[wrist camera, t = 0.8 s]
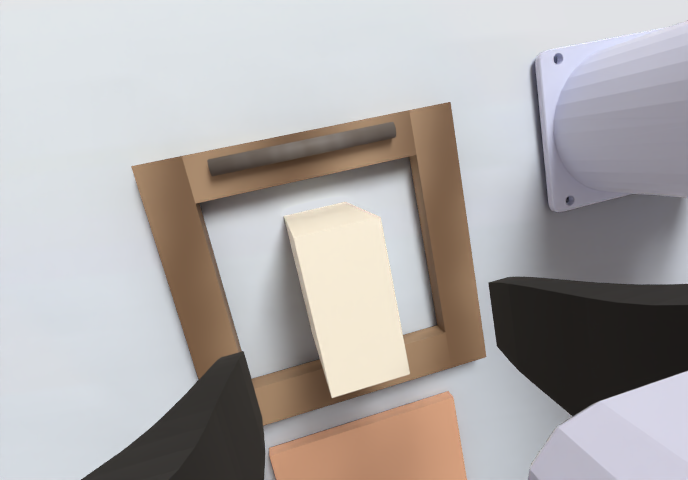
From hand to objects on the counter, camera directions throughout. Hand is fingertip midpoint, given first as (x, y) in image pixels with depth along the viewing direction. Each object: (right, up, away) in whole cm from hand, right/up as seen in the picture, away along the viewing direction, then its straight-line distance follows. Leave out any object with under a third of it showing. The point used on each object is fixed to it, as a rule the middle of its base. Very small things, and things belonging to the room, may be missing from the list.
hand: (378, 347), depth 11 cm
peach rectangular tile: (+1, -10, +11) cm, 15 cm away
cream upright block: (-2, +2, +9) cm, 9 cm away
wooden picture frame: (-2, +2, +9) cm, 9 cm away
